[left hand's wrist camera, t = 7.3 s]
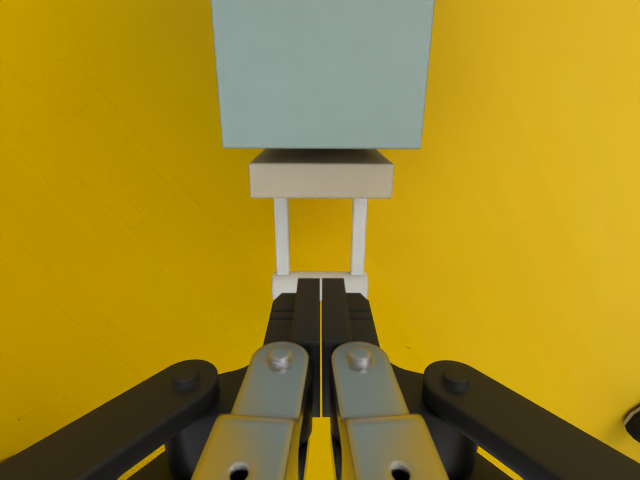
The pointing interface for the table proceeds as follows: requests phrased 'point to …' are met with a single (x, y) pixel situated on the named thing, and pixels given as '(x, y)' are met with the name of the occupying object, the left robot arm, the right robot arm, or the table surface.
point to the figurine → (633, 424)
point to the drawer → (320, 182)
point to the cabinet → (322, 72)
